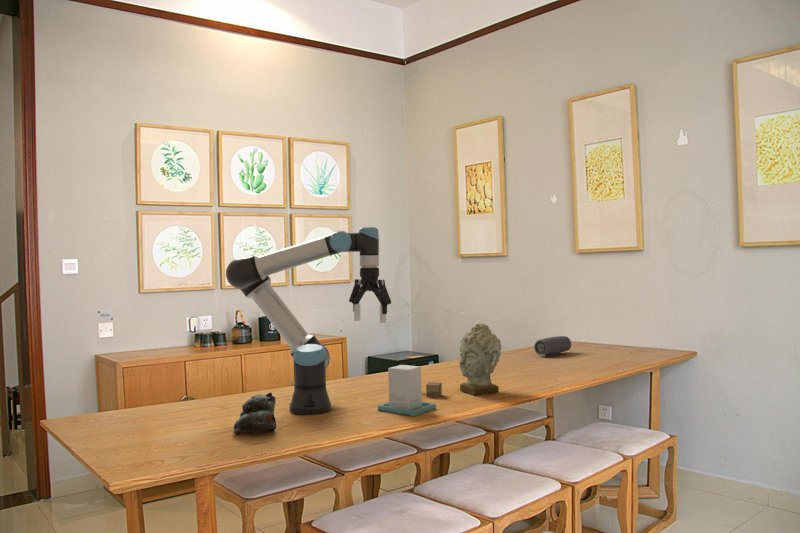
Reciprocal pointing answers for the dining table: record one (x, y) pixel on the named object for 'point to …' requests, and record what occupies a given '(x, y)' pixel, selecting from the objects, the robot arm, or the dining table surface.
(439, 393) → the walnut block
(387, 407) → the tray
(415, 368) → the supplement box
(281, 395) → the dining table surface
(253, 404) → the lucky cat figurine
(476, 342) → the buddha head
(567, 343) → the bluetooth speaker
